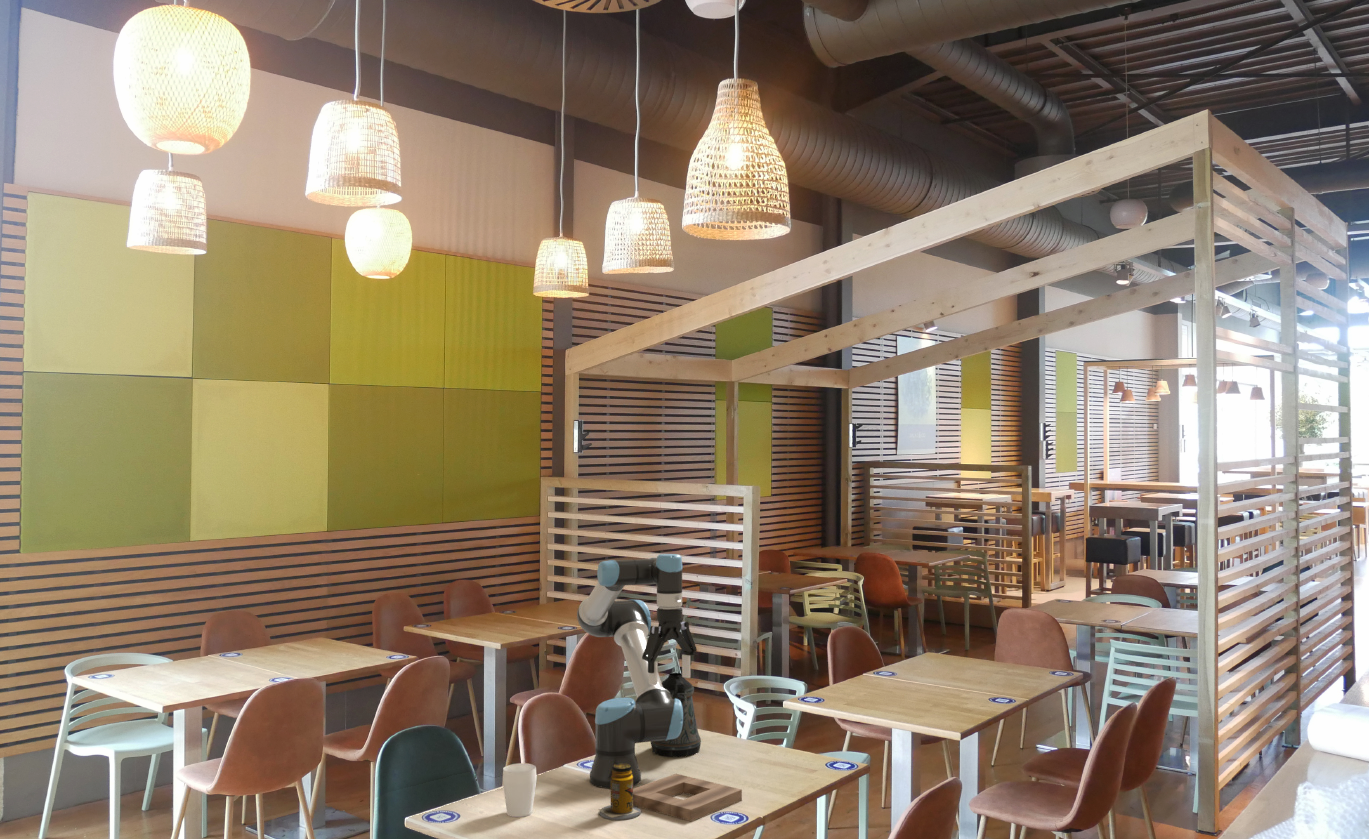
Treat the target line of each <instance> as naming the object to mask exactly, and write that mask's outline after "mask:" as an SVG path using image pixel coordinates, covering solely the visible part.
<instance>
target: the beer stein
mask: <svg viewBox="0 0 1369 839" xmlns="http://www.w3.org/2000/svg"><path fill="white" fill-rule="evenodd" d="M661 683H662V686H663V688H664V689H666V690H668V691H669V692H670V694H671V697H672V699H675V698H676V699H679V700H680V701H681V703H682V708H683V726H682V730H681V733H680V735H679V736H678V737H677V738H675V739H670V740H667V741H665V740H662V741H652V742H650V745H651V751H652V753H653V754H654V755H657V756H660V757H665V758H685V756H686V757H691V756H694V754H695V755H696V753H697V754H699V752H700V750H701V745H702V740H701V736H700V734H699V730H698V726H697V720H696V713H695V707H694V701H693V694H694V691H695V686H693V684H692V683H691V682H689V681H688V679H687V678H686V677H682V672H671V673H669V674H668V677H666V678H665V680H663V681H661Z"/></svg>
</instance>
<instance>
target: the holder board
mask: <svg viewBox="0 0 1369 839" xmlns="http://www.w3.org/2000/svg"><path fill="white" fill-rule="evenodd" d="M681 794H686V795H690V797H687V798H684V799H682V798H678V797H677V796H679V795H681ZM742 797H743V790H742V789H740V788H737V787H733V786H728V785H725V784H720V783H717V782H712V781H708V780H704V779H699V778H695V777H692V776H687V775H684V774H681V773H680V774H679V773H674V774H671V775H668V776H665V777H663V778H660V779H657V780H654V781H651V782H649V783H645V784H643V785H640V786H637V787H633V806H634V805H635V806H636V807H637V806H638V808H640V809H645V810H648V811H652V812H656V813H660V814H663V815H667V816H669V817H670V816H671V817H674V818H677V819H681V820H684V821H689V822H693V821H696V820H699V819H700V818H704V817H706V816H708V815H711V814H714V813H715V812H718V811H720V810H722V808H723V809H724V808H727V807H729V805H730V806H732V805H735V804H737V803H739V801H740V802H742V801H743V798H742Z"/></svg>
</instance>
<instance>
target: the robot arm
mask: <svg viewBox="0 0 1369 839" xmlns="http://www.w3.org/2000/svg"><path fill="white" fill-rule="evenodd" d="M596 571H597V573H596V575H597V583H596V584H595V586H594V587H593V589H592V591H591V592H590V594H589V596H588V597H587V598H585V599H583V600H582V602H580V605H579V606H578V608H577V612H576V619H577V620H576V621H577V622H578V625H579V626H580V628H581V629H582V630H583V631H584V633H587V634H588V635H590V636H592V637H593V636H594V637H596V638H610V637H613V640H614V643H616V645H618V646H619V647H621V649H622V653H623V656H624V659H625V662H626V665H627V666H626V667H627V669H628V673H629V675H630V679H631V682H632V685H633V689H634V692H635V694H636V698H635V699H634V698H632V697H616V698H611V699H608V700H604V701H602V702H601V703H599V704H598V705H597V707H596V709H595V719H594V723H595V756H594V759H593V763H592V766H591V770H590V772H589V783H590V784H591V785H593V786H596V787H598V788H599V787H600V788H605V789H611V776H612V767H613V765H615V764H621V763H623V764H624V763H625V764H629V765H631V767H632V769H631V771H632V773H631V774H632V776H633V786H635V785H638V784H640V783H641V781H642V778H641V777H642V774H641V769H640V768H639V764H638V760H637V756H636V744H639V743H649V742H650V743H651V742H652V741H662V740H665V741H667V740H670V739H675V738H677V737H678V736H679V735H680V733H681V730H682V726H683V708H682V703H681V701H680V700H679V699H676V698H675V699H672V697H671V694H670V692H669V691H668V690H666V689H664V688H663V686H662V681H661V678H660V677H661V676H660V674H659V671H658V666H659V665H658V661H656V660H657V658H658V656H659V655H660V653H661V651H662V649H663V647H664V645H665V643H667V642H668V641H672V640H674V641H676V643H677V645H678V646H679V647H680V649H681V650H682V651H681V652H683V653H682V654H681V674H682V677H684V678H685V679H690V678H691V666H692V656H694V655H695V653H696V652H697V651H698V649H697V646H696V643H695V641H694V639H693V635H692V632H691V630H690V624H689V621H684V620H683V608H682V606H683V558H682V555H680V554H678V553H676V554H675V553H663V554H662V553H661V554H660V553H659V554H658V555H657V556H656V557H651V558H646V559H645V558H643V559H617V560H615V559H610V560H602V561H601V562H599V564H598V565H597V570H596ZM637 585H638V586H640V585H656V607H657V609H656V620H657V621H658V626H656V625H652V618H651V612H650V610H649V609H650V608H649V607H648V605H647V604H646V603H645V602H644V601H643V600H640V599H632V598H631V599H627V600H616V599H617V598H618V596H619V594H621V592H622V591H623V589H624V587H625V586H637ZM647 637H648V638H647Z"/></svg>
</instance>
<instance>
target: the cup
mask: <svg viewBox="0 0 1369 839" xmlns="http://www.w3.org/2000/svg"><path fill="white" fill-rule="evenodd" d="M502 771H503V772H502V785H503V787H502V788H503V793H504V794H503V795H504V801H505V807H506V808H505V809H506V815H508V816H509V817H511V818H512V817H513V818H525V817H528V816H530V815H531V814H532V813H533V808H534V802H535V801H534V800H535V794H536V793H535V792H536V786H537V778H538V777H537V767H536V765H534V764H533V763H526V762H524V763H520V762H519V763H512V764H509V765H506V766H504V767H503V770H502Z"/></svg>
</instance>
